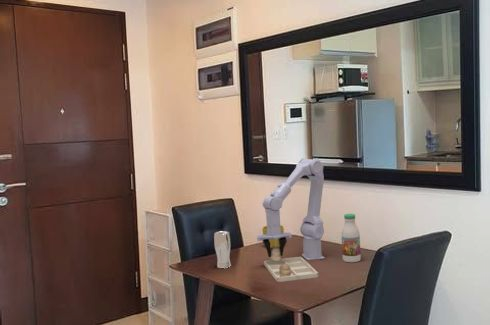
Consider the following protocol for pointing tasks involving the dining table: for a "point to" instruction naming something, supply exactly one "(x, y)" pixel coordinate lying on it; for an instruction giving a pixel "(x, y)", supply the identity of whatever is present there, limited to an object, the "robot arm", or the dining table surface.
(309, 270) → the white compartment tray
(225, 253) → the beer glass
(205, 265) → the dining table surface
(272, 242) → the plant pot
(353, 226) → the milk bottle
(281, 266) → the tan tiered dome
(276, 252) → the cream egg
